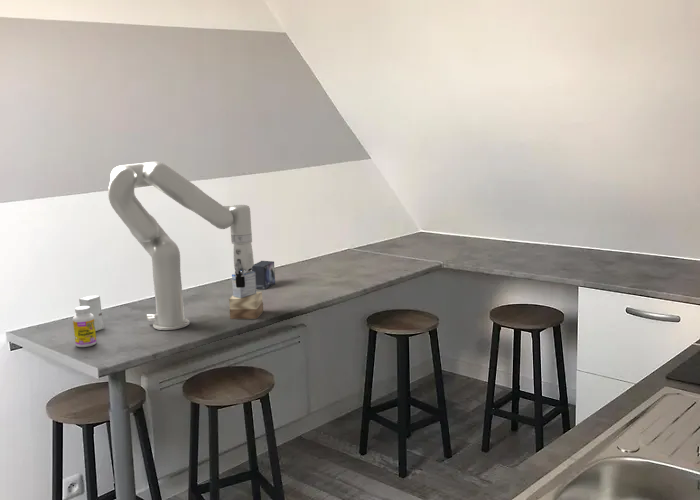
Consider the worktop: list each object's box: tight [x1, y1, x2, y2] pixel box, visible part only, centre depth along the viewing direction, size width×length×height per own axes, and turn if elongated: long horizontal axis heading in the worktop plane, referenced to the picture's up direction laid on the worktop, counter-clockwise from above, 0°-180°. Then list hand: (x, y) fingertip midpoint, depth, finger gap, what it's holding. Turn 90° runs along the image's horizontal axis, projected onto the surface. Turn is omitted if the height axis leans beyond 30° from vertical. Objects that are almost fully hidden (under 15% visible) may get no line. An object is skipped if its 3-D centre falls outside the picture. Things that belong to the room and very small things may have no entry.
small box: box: [251, 260, 276, 290], centre depth 309 cm, size 11×6×10 cm, turn 161°
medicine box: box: [231, 270, 257, 298], centre depth 264 cm, size 8×4×9 cm, turn 140°
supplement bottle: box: [72, 305, 97, 348], centre depth 237 cm, size 7×7×13 cm
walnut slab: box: [229, 302, 264, 320], centre depth 266 cm, size 10×10×4 cm
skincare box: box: [78, 295, 104, 332], centre depth 253 cm, size 6×4×12 cm
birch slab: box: [228, 291, 264, 310], centre depth 266 cm, size 10×10×4 cm
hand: (244, 284), depth 264 cm, fingers open, 9 cm apart
